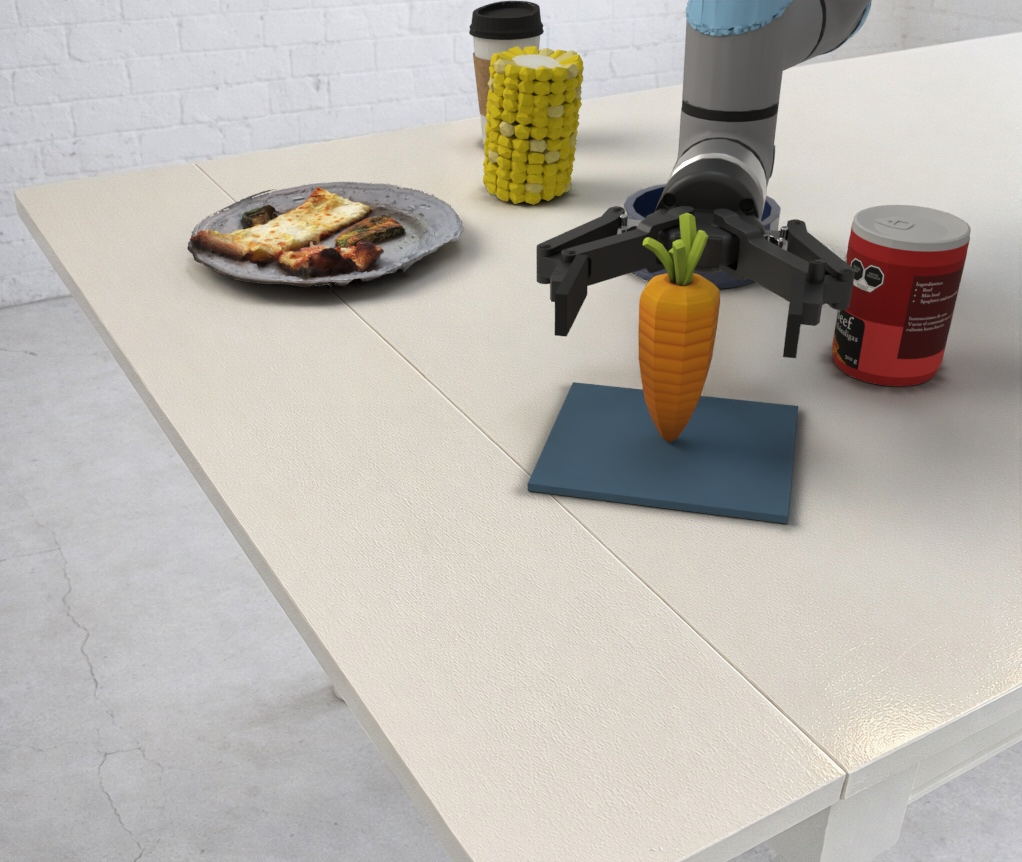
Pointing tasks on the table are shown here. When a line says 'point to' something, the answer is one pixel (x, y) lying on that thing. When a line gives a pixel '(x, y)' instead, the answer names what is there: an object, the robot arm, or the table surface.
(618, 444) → the blue rectangular board
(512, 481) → the table surface
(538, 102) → the food
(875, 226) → the canned food
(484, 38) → the coffee cup
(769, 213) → the pot
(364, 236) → the food plate
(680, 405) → the carrot
